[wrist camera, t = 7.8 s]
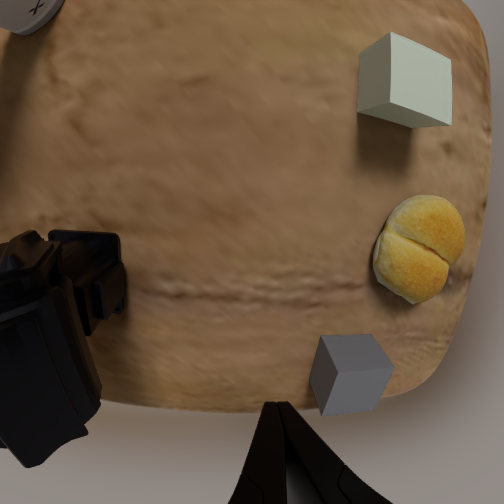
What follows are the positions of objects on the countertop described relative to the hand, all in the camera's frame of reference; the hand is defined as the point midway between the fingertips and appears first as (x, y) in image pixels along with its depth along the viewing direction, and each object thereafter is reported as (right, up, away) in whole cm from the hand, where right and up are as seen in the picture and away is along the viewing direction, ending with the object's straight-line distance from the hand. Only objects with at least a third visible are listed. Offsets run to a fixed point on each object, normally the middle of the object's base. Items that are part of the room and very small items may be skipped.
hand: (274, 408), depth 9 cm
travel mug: (-20, +27, +4) cm, 34 cm away
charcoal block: (+7, -4, +16) cm, 18 cm away
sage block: (+9, +18, +9) cm, 22 cm away
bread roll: (+13, +6, +13) cm, 19 cm away
